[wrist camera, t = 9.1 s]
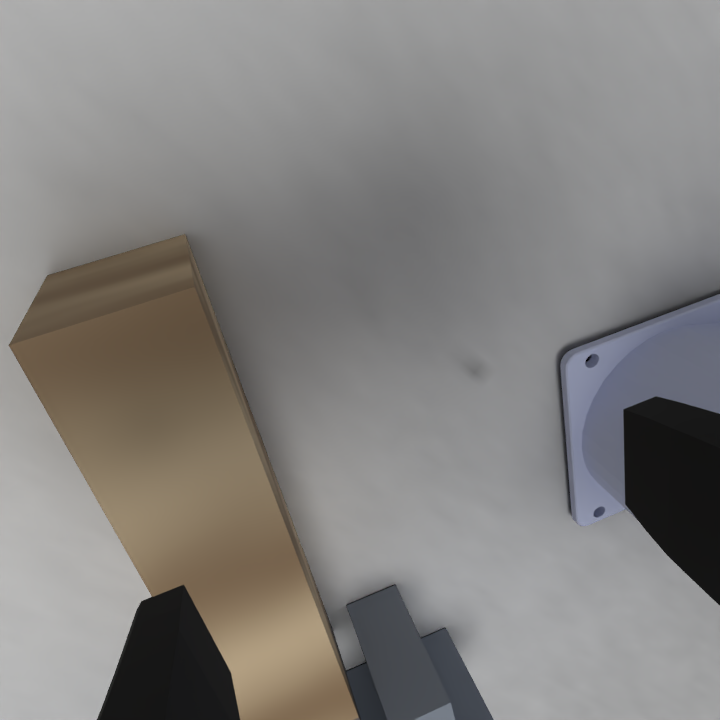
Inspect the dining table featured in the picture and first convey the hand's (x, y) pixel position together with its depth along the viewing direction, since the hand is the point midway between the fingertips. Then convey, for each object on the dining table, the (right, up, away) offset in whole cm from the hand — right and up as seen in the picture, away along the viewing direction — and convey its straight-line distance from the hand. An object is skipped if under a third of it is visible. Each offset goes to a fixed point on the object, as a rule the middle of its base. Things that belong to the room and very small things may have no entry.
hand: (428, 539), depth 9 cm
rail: (-5, -1, +10) cm, 11 cm away
